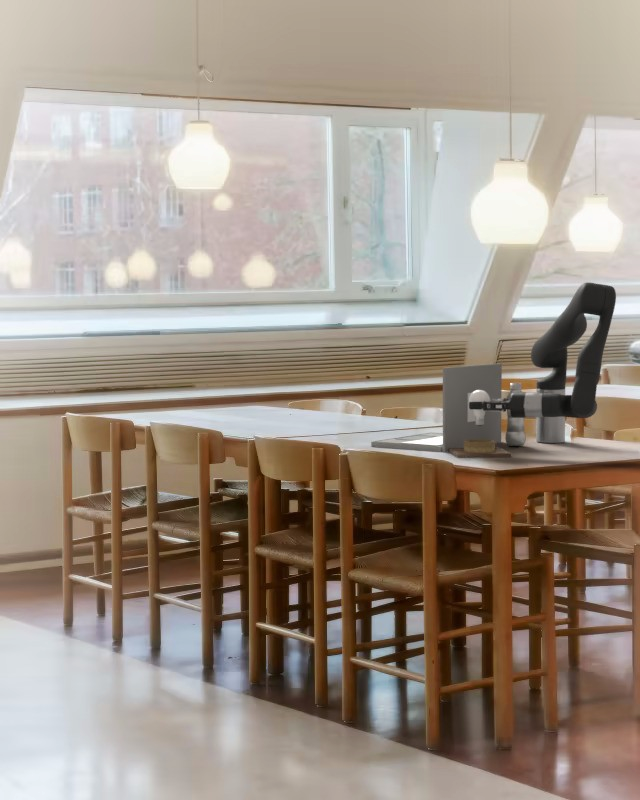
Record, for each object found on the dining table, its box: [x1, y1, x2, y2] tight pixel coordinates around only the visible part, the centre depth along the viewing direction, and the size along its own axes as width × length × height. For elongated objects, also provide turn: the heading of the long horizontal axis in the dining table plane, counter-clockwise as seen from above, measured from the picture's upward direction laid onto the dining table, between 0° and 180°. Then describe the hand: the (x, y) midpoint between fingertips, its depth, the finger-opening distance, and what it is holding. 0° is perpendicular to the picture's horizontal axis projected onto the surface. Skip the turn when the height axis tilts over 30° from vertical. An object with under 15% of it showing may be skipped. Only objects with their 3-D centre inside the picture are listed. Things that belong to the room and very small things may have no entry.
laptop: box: [370, 363, 503, 453], centre depth 418 cm, size 35×28×26 cm
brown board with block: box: [448, 439, 512, 458], centre depth 391 cm, size 16×16×4 cm
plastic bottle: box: [505, 382, 527, 448], centre depth 410 cm, size 6×7×20 cm
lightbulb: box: [469, 390, 490, 427], centre depth 390 cm, size 6×6×11 cm
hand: (471, 404), depth 390 cm, fingers closed on lightbulb, 6 cm apart
